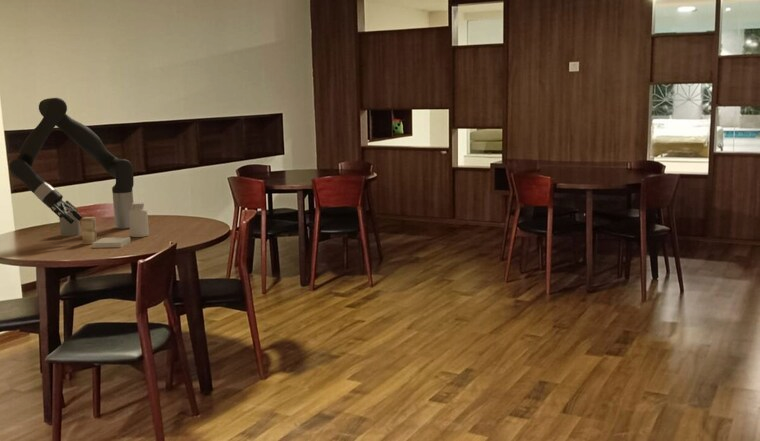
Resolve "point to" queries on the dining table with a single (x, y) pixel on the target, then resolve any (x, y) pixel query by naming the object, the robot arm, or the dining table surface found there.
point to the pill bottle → (138, 220)
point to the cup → (69, 227)
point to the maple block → (89, 230)
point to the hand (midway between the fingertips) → (77, 220)
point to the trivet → (111, 242)
